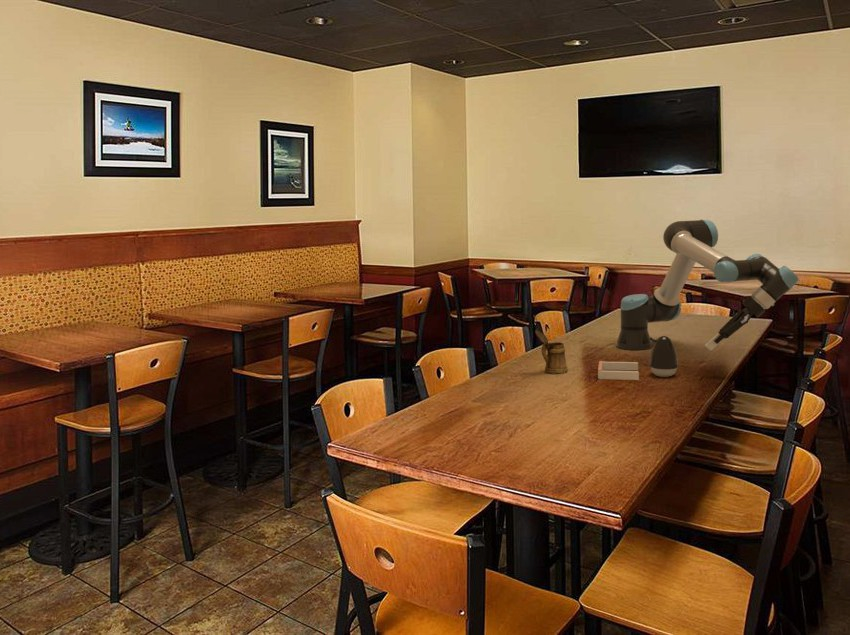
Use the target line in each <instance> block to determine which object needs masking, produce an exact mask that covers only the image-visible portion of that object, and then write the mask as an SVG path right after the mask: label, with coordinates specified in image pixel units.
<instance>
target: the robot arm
mask: <svg viewBox="0 0 850 635" xmlns="http://www.w3.org/2000/svg"><path fill="white" fill-rule="evenodd" d="M718 240H719V232H718V228H717V226H716V224H715V223H714V222H713V220H712V221H711V220H708V219H698V220H696V219H695V220H679V221H675V222H672V223H670V224H669V225H668V226H667V227H666V229H665V230H664V232H663V243H664V245H665V246H666V247H667V249H669V250H670V251H671V252H673V253H675V254H676V255H675V256H674V258H673V261H672V263H671V265H670V266H669V269H668V270H667V273H666V275H665V277H664V279H663V280H662V281H663V282H662V283H661V285H660V287H658V288H655V290H654V292H653V294H652V296H648V294H646V293H639V294H638V293H637V294H630V295H626V296H624V297H623V298H622V299H621V301H620V332H619V334H618V338H617V340H616V348H618V349H622V350H629V351H641V350H643V351H644V350H649V349H651V348H653V343H652V342H653V341H652V340H650V333H649V329H648V328H649V327H648V325H649V323H651V324H652V323H659V322H661V323H662V322H669V321H670V322H671V321H674V320H676V319H677V318H679V316H680V314H681V312H682V308H681V307H682V302H681V298H680V294H681V292H682V290H683V288H684V286H685V284H686V283H687V280H688V278H689V277H690V275H691V272H692V270H693V268H694V267H695V264H696V263H697V264H699V265H700V266H703V267H704V268H706V269H707V270H709V271H711V272H712V273H713V275H714V277H715V279H716V281H717V282H720V283H732V282H733V283H734V282H743V281H756V280H757V281H759V282H760V283H761V285H760V286H759V287H758V288H757V289H755V290H754V291H753V292H752V293H751V296H748V297H747V298H746V299H745V300H743V302H742V305H743V306H744V308H743V309H740V310H739V311H736V313H734V315H733V316H732V317H731V318H730V319H729V320H728V321H727V322H726V323H725V324H724V325H723V326H722V327H721V328H720V329H719V330H718V333H717V334H716V335H714V336H713V337H712V338H711V339H710V340H709V341H708V342H707V343H706V344H704V346H705V347H706V349H708V350H709V351H713V350H714V349H715V348H716V347H717V346H718V345H719V344H720V343H722V342H723V341H724V340H725V339H728V338H729V337H731V336H732V335H733V334H735V333H736V332H737V331H739V330H740V329H742V327H743V326H745V325H746V324H748V323H749V321H750V320H751V317H753V315H754V316H755V317H756V318H760V317H761V316H762V315H763V314H764V313H765V312H766V310H768V309H769V308H771V307H774V306H775V303H776V302H778V300H779V299H781V297H783V295H785V294H787V292H789V291H790V290H791V289H793V287H794V286H796V285H797V283H798V282H799V281H800V280H799V276H798V275H797V274H796V273H795V272H794V271H793V270H792V269H790V268H789V267H788V266H786V265H782V266H781V267H780V268H779V267H778V266H776V265H775V264H774V263H773V262H772V261H770V260H769V258H767V257H765V256H764V255H762V254H761V253H753V254H752V255H749V256H747V258H746V259H740V260H736V259H734V258H731V257H729V256H728V255H727V254H724V253H722V252H720V250H717V249H715V248H714V247H716V245H717V244H718Z"/></svg>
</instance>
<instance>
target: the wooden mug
mask: <svg viewBox="0 0 850 635" xmlns="http://www.w3.org/2000/svg"><path fill="white" fill-rule="evenodd" d="M534 332H535V335H536V337H537V338H538V339H539V340H540V341H541V342H542V343H543V344H542V345H541V355H542V358H543V360H544V361H545V366H544V372H545V371H546V372H545V373H547V372H549V373H548V374H550V373H563V374H565V373H564V372H566V373H568V372H569V371H568V369H569V368H568V366H567V360H566V353H565V352H566V348H565V346H564V343H563V342H560V341H559V342H557V341H555V342H549V339H548V338H547V336H546V335H545V334H544V333H543V332H542V331H541V330H539V329H537V328H536V329H535V331H534ZM567 371H568V372H567Z"/></svg>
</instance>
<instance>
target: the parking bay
mask: <svg viewBox="0 0 850 635" xmlns="http://www.w3.org/2000/svg"><path fill="white" fill-rule="evenodd" d="M598 361H599V362H598V368H597V379H598V380H621V381H622V380H623V381H624V380H625V381H626V380H627V381H639V380H640V378H639V377H640V372H639V362H638V361H636V362H635V361H633V362H631V361H603V360H598Z"/></svg>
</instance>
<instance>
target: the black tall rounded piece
mask: <svg viewBox="0 0 850 635" xmlns="http://www.w3.org/2000/svg"><path fill="white" fill-rule="evenodd" d="M650 340H651V342H653V343H654V345H652V349H651V353H650V356H649V357H650V358H649V367H650V370H651V372H652V374H654V375H655V376H657V377H659V378H669V376H670V377H671V376H673V375H675V373H677V369H678V367H679V363H678V362H679V360H678V354H677V351H676V348H675V344H674V343H673V341H672V339H671V337H669V336H666V335H662V336H659V337H658V338H655V337H652V336H651V337H650Z"/></svg>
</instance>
